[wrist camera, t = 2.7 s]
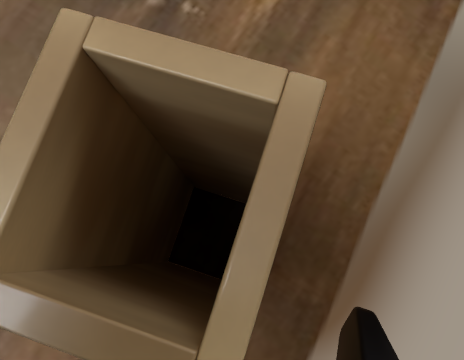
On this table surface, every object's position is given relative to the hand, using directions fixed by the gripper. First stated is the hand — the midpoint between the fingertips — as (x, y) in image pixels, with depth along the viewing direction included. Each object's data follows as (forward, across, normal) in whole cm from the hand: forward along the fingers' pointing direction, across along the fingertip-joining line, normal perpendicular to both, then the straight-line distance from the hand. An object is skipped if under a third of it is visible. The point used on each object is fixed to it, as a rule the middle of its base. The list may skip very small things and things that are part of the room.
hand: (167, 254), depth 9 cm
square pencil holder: (+7, 0, +5) cm, 9 cm away
